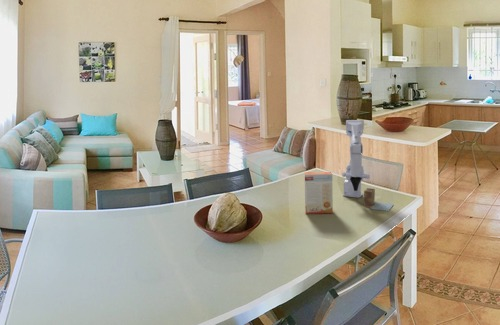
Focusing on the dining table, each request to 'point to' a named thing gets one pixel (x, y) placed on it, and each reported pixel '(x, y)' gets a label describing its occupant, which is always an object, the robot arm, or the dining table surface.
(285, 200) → the dining table surface
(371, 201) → the brown wooden block
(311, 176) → the cracker box
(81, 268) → the dining table surface
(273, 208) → the dining table surface
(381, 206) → the mat
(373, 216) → the dining table surface
